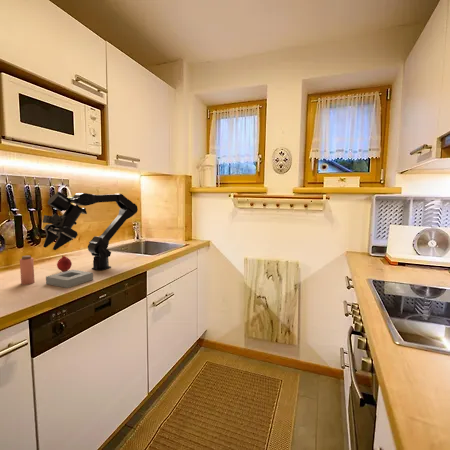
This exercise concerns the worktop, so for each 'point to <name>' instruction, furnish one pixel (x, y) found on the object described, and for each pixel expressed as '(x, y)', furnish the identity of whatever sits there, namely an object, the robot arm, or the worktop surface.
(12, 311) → the worktop surface
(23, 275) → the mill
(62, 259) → the onion
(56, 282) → the socket board
